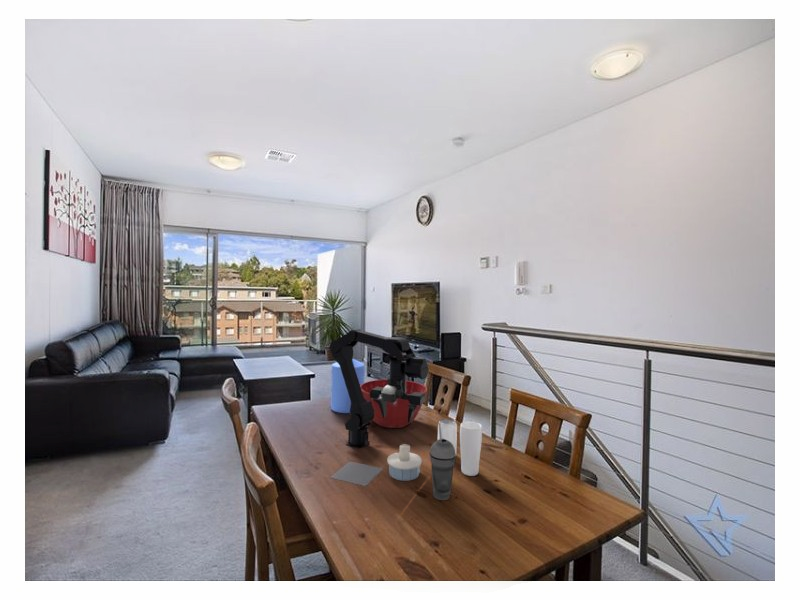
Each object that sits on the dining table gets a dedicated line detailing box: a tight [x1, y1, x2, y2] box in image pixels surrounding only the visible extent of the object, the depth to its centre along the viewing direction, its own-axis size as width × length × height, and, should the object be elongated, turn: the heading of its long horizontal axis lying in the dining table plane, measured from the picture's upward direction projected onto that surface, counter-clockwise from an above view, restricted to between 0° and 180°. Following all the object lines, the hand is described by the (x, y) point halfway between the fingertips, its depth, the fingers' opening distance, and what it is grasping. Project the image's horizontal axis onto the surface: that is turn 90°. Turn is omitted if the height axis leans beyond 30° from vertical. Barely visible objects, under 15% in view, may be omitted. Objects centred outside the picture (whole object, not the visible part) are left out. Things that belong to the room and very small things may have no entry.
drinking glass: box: [459, 421, 483, 477], centre depth 121 cm, size 7×7×15 cm
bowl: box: [388, 464, 421, 482], centre depth 119 cm, size 9×9×4 cm
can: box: [437, 418, 458, 455], centre depth 133 cm, size 6×6×12 cm
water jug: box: [330, 358, 366, 414], centre depth 183 cm, size 16×16×28 cm
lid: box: [386, 443, 422, 470], centre depth 119 cm, size 10×10×5 cm
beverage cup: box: [429, 422, 457, 501], centre depth 107 cm, size 7×7×20 cm
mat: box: [329, 460, 384, 487], centre depth 119 cm, size 12×12×1 cm
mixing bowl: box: [360, 378, 428, 429], centre depth 165 cm, size 28×28×15 cm
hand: (396, 420), depth 133 cm, fingers open, 9 cm apart
